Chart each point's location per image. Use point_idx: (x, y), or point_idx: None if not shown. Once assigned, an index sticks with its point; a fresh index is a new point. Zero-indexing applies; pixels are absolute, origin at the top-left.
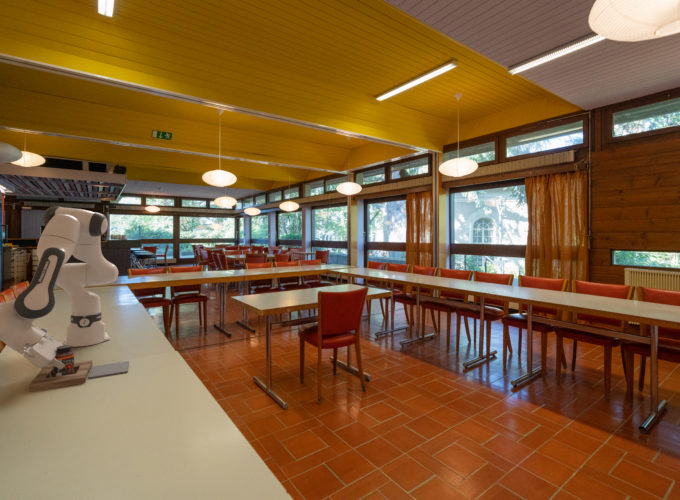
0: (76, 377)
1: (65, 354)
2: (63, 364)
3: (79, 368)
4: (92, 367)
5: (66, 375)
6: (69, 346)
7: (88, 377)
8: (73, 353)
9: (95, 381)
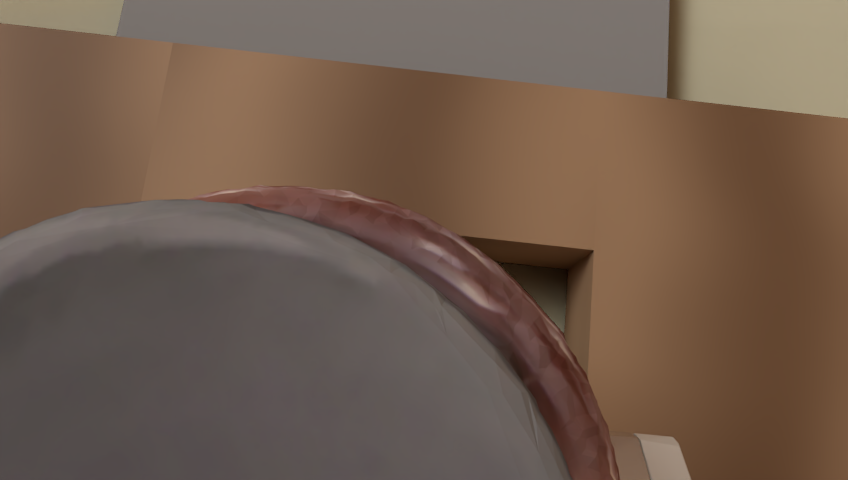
0: (820, 237)
1: (591, 452)
2: (682, 471)
3: None
4: None
5: (616, 397)
6: (356, 261)
7: None
8: (370, 197)
9: (817, 35)
